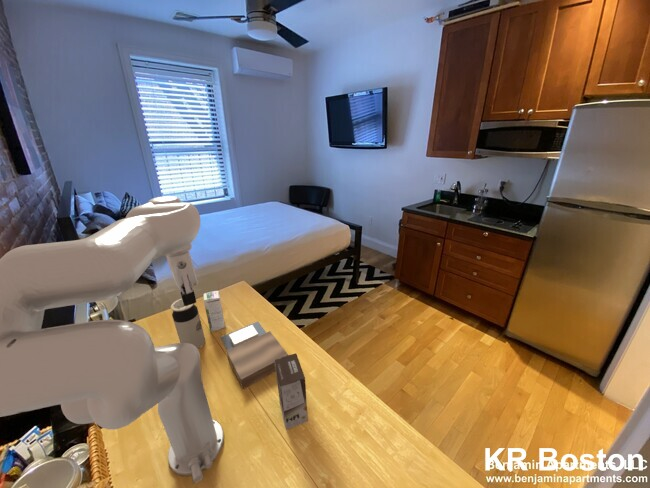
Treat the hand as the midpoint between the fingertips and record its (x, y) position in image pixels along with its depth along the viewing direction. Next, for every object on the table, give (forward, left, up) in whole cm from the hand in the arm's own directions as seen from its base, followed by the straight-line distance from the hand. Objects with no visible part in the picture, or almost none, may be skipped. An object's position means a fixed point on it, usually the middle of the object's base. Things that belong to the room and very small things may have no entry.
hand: (190, 303), depth 78 cm
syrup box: (+21, -9, -27) cm, 36 cm away
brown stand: (-6, -15, -27) cm, 32 cm away
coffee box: (-28, -16, -27) cm, 42 cm away
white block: (+7, -15, -25) cm, 30 cm away
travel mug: (+16, +1, -27) cm, 32 cm away
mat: (+7, -16, -27) cm, 32 cm away
